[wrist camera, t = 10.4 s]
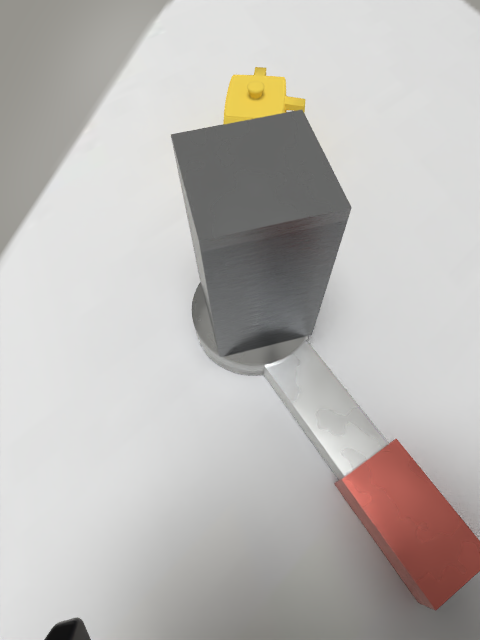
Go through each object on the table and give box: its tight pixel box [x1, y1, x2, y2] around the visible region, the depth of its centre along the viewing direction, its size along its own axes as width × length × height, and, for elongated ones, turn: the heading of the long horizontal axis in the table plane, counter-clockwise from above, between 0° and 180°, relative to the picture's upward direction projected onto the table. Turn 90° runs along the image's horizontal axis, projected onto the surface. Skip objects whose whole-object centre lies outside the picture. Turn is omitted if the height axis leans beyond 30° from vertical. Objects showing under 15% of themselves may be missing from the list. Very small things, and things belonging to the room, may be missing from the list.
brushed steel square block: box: [171, 110, 351, 357], centre depth 19 cm, size 5×5×10 cm
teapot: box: [224, 67, 305, 124], centre depth 30 cm, size 8×6×5 cm
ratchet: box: [192, 282, 480, 610], centre depth 21 cm, size 20×7×4 cm, turn 33°
